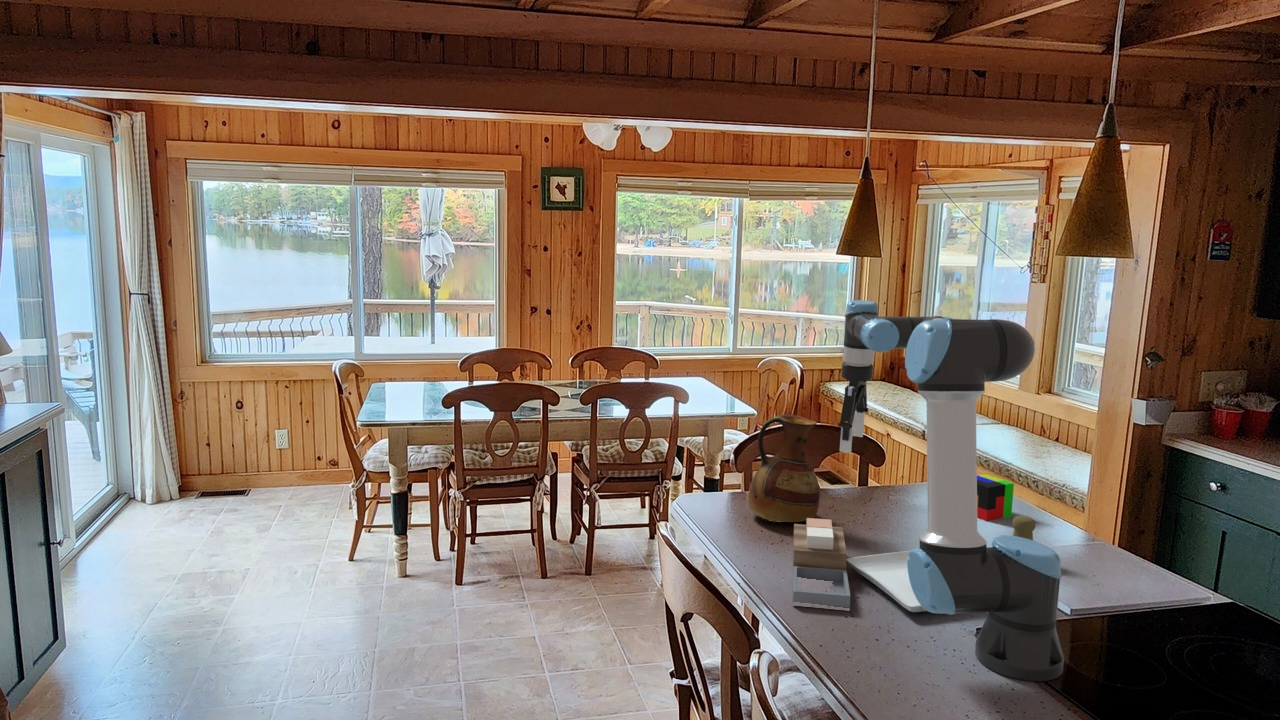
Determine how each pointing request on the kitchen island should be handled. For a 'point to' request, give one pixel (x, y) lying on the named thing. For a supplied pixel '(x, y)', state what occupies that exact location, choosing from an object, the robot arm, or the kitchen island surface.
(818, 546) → the cream tile
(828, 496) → the kitchen island surface
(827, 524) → the terracotta tile
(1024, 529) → the cork
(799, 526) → the brushed bronze panel
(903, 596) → the square plate
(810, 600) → the bin
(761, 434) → the ceramic pitcher
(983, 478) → the puzzle toy
